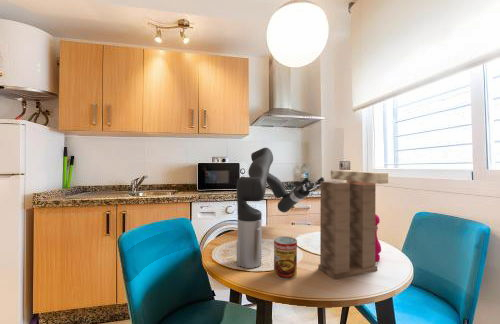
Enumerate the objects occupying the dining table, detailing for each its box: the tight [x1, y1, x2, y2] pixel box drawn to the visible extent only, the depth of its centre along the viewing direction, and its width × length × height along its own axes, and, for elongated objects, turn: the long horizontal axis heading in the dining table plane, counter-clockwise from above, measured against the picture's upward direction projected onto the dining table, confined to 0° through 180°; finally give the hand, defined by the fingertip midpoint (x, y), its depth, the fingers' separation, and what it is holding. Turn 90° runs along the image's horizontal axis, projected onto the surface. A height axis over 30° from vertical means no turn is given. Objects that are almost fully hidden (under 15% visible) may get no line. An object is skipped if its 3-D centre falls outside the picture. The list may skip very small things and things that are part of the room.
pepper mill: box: [375, 213, 382, 262], centre depth 100 cm, size 7×7×20 cm
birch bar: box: [330, 170, 389, 185], centre depth 94 cm, size 24×4×4 cm, turn 22°
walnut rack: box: [317, 180, 378, 280], centre depth 90 cm, size 9×19×32 cm, turn 112°
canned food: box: [273, 235, 298, 280], centre depth 86 cm, size 8×8×12 cm
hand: (315, 179), depth 117 cm, fingers open, 8 cm apart
